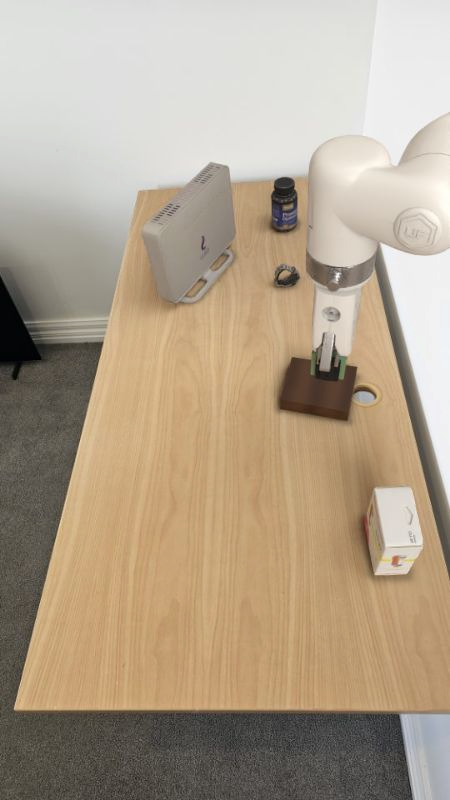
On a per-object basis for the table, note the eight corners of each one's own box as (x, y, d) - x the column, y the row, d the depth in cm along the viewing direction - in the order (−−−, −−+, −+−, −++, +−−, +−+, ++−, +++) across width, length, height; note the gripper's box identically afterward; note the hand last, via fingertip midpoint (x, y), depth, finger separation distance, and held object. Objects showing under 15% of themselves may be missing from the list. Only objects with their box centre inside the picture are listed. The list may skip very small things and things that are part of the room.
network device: (184, 316, 106) (166, 236, 90) (152, 303, 109) (128, 225, 93) (245, 246, 118) (238, 164, 102) (214, 236, 121) (202, 156, 105)
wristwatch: (287, 292, 109) (303, 276, 106) (269, 281, 107) (284, 264, 104) (285, 284, 111) (300, 268, 108) (267, 273, 109) (282, 256, 106)
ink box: (362, 519, 76) (372, 484, 67) (395, 517, 76) (410, 482, 66) (372, 576, 71) (384, 547, 62) (408, 575, 71) (426, 546, 61)
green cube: (347, 355, 71) (350, 333, 67) (343, 379, 68) (346, 358, 65) (316, 350, 72) (317, 329, 68) (310, 374, 69) (311, 353, 66)
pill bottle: (284, 236, 118) (284, 193, 109) (266, 226, 121) (264, 183, 112) (302, 223, 120) (303, 181, 111) (284, 214, 123) (283, 171, 114)
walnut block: (355, 376, 92) (357, 366, 90) (347, 421, 87) (349, 411, 84) (291, 366, 95) (291, 356, 93) (279, 409, 90) (279, 399, 87)
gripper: (365, 316, 50) (348, 417, 64) (382, 215, 59) (364, 324, 74) (291, 308, 52) (291, 408, 66) (319, 211, 61) (313, 318, 75)
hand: (329, 363), depth 70 cm, fingers closed on green cube, 4 cm apart
